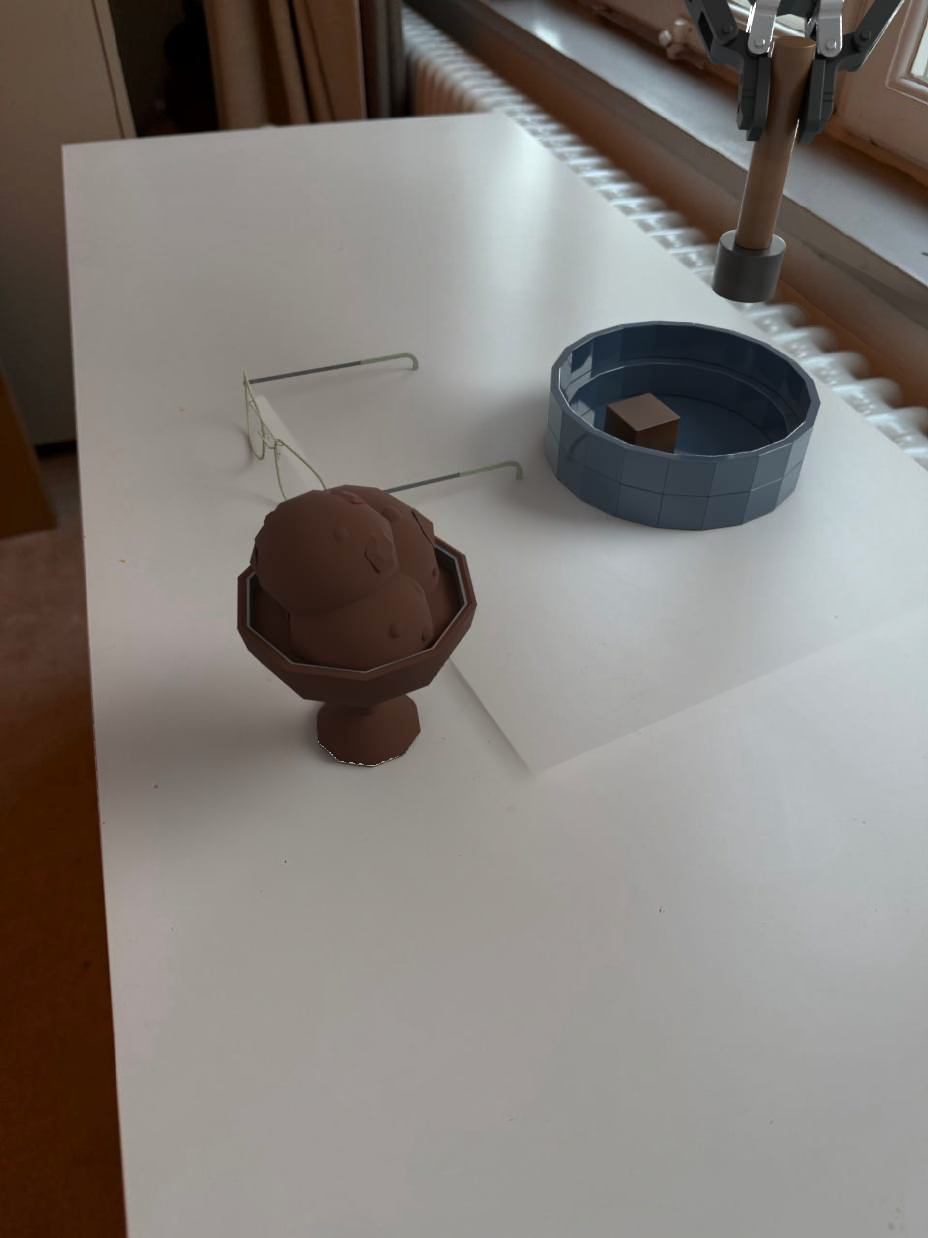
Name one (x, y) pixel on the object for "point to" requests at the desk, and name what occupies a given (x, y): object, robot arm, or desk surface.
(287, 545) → the ice cream bowl
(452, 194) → the desk surface
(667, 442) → the block
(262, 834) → the desk surface
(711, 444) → the bowl
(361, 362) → the eyeglasses
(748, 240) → the pestle
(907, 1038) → the desk surface
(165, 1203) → the desk surface
